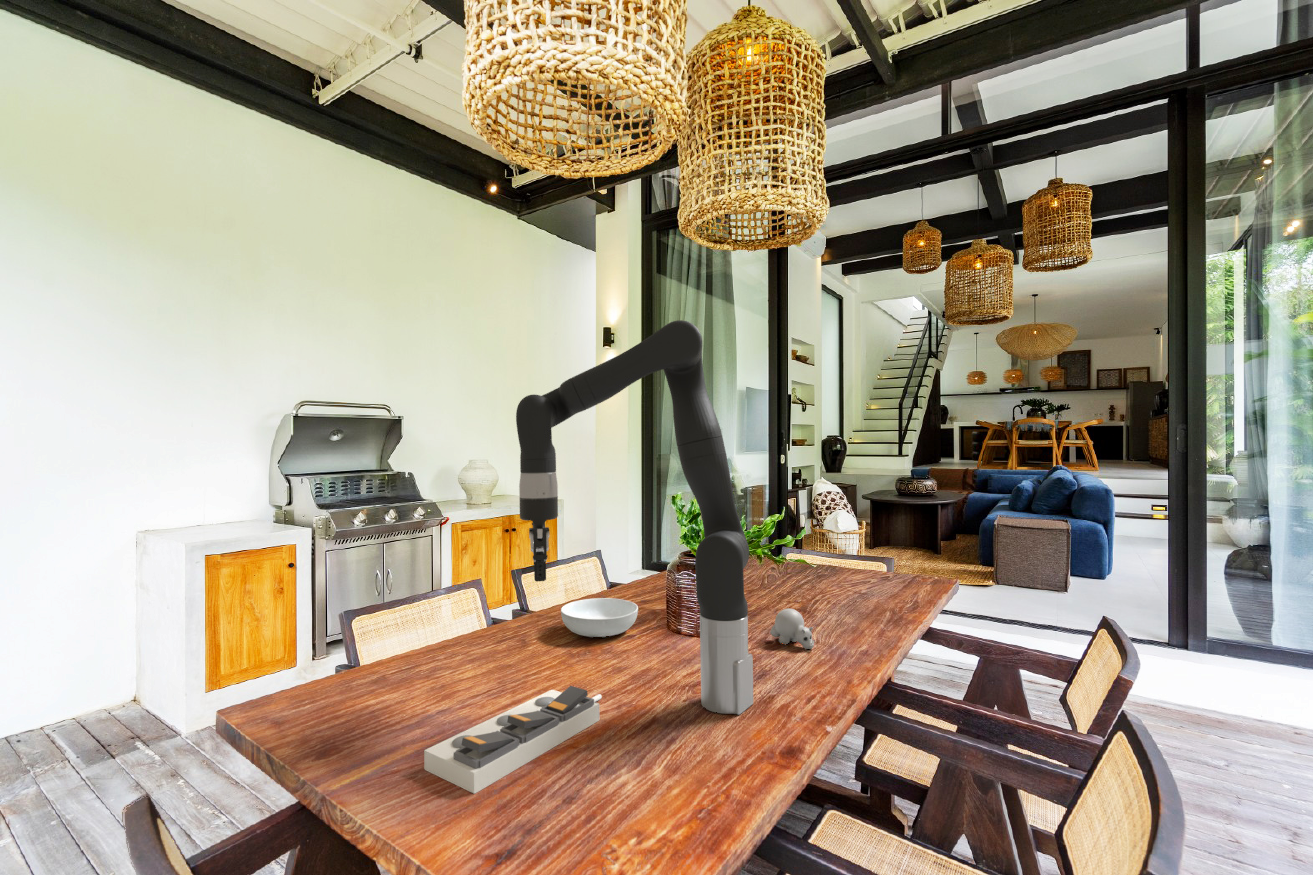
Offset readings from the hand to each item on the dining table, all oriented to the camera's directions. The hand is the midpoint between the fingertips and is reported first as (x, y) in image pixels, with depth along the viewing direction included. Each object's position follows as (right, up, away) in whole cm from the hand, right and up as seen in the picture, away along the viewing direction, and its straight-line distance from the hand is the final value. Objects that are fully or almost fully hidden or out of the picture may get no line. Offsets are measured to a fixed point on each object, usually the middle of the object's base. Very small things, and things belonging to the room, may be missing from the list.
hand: (539, 576), depth 120 cm
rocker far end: (-3, -19, -27) cm, 33 cm away
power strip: (+2, -24, -15) cm, 28 cm away
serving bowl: (+8, -25, +43) cm, 50 cm away
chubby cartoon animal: (+58, -24, +30) cm, 70 cm away
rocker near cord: (+7, -19, -12) cm, 24 cm away
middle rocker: (+2, -19, -20) cm, 28 cm away
